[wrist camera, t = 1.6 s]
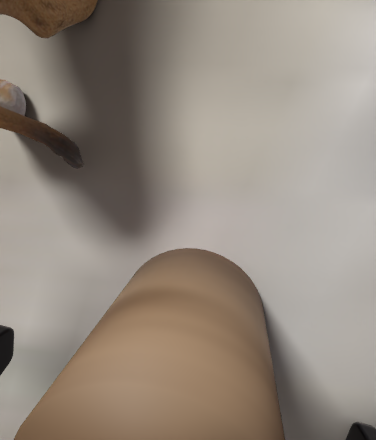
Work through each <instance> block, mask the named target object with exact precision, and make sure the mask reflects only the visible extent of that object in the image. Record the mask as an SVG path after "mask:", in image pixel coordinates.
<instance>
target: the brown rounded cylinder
mask: <svg viewBox="0 0 376 440" xmlns="http://www.w3.org/2000/svg"><path fill="white" fill-rule="evenodd" d="M14 440H285V437H284V431H283V425H282V419H281V413H280V407H279V401H278V395H277V389H276V383H275V377H274V371H273V365H272V359H271V353H270V347H269V341H268V335H267V329H266V323H265V317H264V311H263V306H262V302H261V298H260V295H259V293H258V290H257V289H256V287H255V285H254V283H253V282H252V280H251V279H250V278H249V277H248V275H247V274H246V273H245V272H244V271H243V270H242V269H241V268H240V267H238V266H237V265H236V264H235V263H233V262H232V261H230V260H228V259H227V258H225V257H223V256H221V255H218V254H216V253H213V252H210V251H206V250H201V249H190V248H185V249H175V250H171V251H167V252H164V253H161V254H159V255H157V256H155V257H153V258H151V259H150V260H149V261H147V262H146V263H145V264H143V265H142V266H141V267H140V268H139V269H138V271H137V272H136V273H135V275H134V276H133V277H132V278H131V280H130V281H129V282H128V284H127V285H126V286H125V288H124V289H123V290H122V292H121V293H120V294H119V296H118V297H117V298H116V300H115V301H114V302H113V304H112V305H111V306H110V308H109V309H108V310H107V312H106V313H105V314H104V316H103V317H102V318H101V320H100V321H99V322H98V324H97V325H96V326H95V328H94V329H93V330H92V332H91V333H90V334H89V336H88V337H87V338H86V340H85V341H84V342H83V344H82V345H81V346H80V348H79V349H78V350H77V352H76V353H75V354H74V356H73V357H72V358H71V360H70V361H69V362H68V364H67V365H66V366H65V368H64V369H63V370H62V372H61V373H60V374H59V376H58V377H57V378H56V380H55V381H54V382H53V384H52V385H51V386H50V388H49V389H48V390H47V392H46V393H45V394H44V396H43V397H42V398H41V400H40V401H39V402H38V404H37V405H36V406H35V408H34V409H33V410H32V412H31V413H30V414H29V416H28V417H27V418H26V420H25V421H24V422H23V424H22V425H21V426H20V428H19V430H18V432H17V434H16V436H15V438H14Z"/></svg>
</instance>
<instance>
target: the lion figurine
mask: <svg viewBox="0 0 376 440" xmlns="http://www.w3.org/2000/svg"><path fill="white" fill-rule="evenodd" d="M97 1H98V0H0V14H4V15H8V16H11V17H14V18H16V19H18V20H19V21H21V22H22V23H23V24H25V25H26V26H27V27H28V28H29V29H30V30H31V31H32V32H33V33H35V34H36V35H37V36H39V37H41V38H49V37H51V36H53V35H55V34H57V33H58V32H60V31H61V30H63V29H65V28H67V27H69V26H71V25H74V24H77V23H79V22H82V21H84V20H86V19H87V18H88V17H89V16H90V15H91V14H92V12H93V11H94V9H95V6H96V4H97ZM25 112H26V101H25V98H24V94H23V92H22V90H21V89H20V88H19V87H18V86H16V85H13V84H12V83H10V82H8V81H6V80H0V128H3V129H6V130H9V131H13V132H16V133H19V134H22V135H24V136H26V137H29V138H31V139H33V140H35V141H38V142H40V143H43V144H45V145H46V146H48V147H49V148H50V149H51V150H52V151H53V152H54V153H56V154H57V155H59V156H61V157H62V158H63V159H64V160H65V161H66V162H67V163H68V164H70V165H71V166H72V167H75V168H80V167H83V165H84V163H83V161H82V159H81V156H80V151H79V149H78V147H77V145H76V144H75V143H74V142H73V141H71V140H70V139H69V138H68V137H66V136H65V135H64V134H62V133H60V132H58V131H56V130H55V129H53V128H51V127H49V126H48V125H47V124H44V123H42V122H39V121H36V120H34V119H31V118H28V117H26V116H24V115H25Z"/></svg>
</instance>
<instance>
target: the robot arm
mask: <svg viewBox="0 0 376 440" xmlns="http://www.w3.org/2000/svg"><path fill="white" fill-rule="evenodd" d="M13 348H14V331H13V329H12V328H10V327H6V326H3V325H0V375H1V374H2V372H3V371H4V370H5V368H6V367H7V366H8V364H9V363H10V361H11V359H12V356H13ZM346 440H376V429H375V428H374V427H373V426H370V425H367V424H363V423H360V422H355V423H353V424H352V426H351V428H350V430H349V433H348V435H347V437H346Z"/></svg>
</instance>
